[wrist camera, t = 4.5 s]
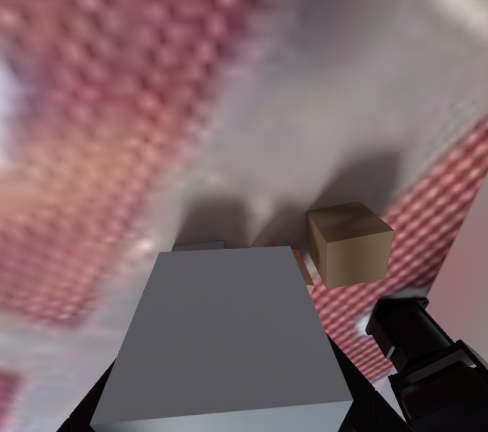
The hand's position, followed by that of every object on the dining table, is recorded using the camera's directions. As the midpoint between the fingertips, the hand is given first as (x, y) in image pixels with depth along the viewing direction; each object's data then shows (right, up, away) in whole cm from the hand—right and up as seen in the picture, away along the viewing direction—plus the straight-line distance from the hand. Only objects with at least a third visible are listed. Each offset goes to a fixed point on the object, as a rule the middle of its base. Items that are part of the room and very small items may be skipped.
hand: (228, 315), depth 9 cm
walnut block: (+9, +3, +13) cm, 16 cm away
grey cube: (0, +1, +1) cm, 1 cm away
